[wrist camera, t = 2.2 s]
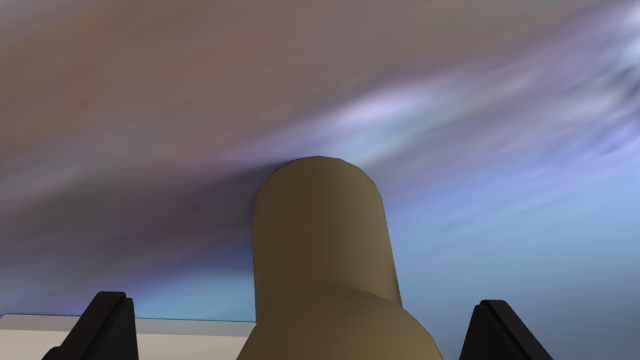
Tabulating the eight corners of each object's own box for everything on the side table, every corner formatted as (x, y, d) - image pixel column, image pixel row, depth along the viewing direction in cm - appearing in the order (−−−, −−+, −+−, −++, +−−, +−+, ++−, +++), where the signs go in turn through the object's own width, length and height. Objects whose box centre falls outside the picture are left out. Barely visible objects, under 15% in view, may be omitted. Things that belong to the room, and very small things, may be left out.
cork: (225, 234, 17) (125, 522, 7) (302, 128, 16) (313, 305, 6) (331, 294, 19) (372, 603, 9) (411, 203, 17) (574, 451, 7)
